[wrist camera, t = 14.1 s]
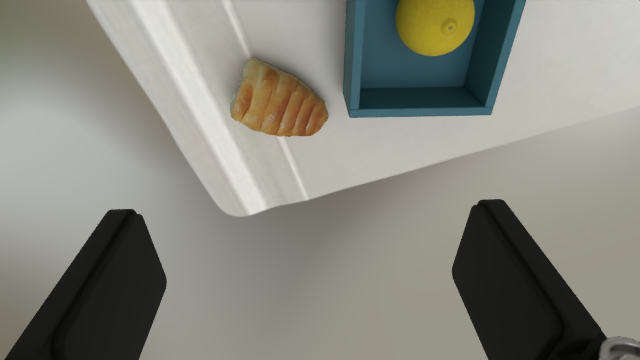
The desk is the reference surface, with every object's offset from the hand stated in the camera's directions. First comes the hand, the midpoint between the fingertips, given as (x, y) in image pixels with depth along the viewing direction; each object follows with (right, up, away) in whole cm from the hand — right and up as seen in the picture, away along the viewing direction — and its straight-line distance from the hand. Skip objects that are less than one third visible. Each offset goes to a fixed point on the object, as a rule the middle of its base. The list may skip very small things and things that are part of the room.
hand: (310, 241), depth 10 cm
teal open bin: (+9, +17, +21) cm, 28 cm away
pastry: (-4, +10, +25) cm, 27 cm away
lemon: (+9, +17, +20) cm, 28 cm away
